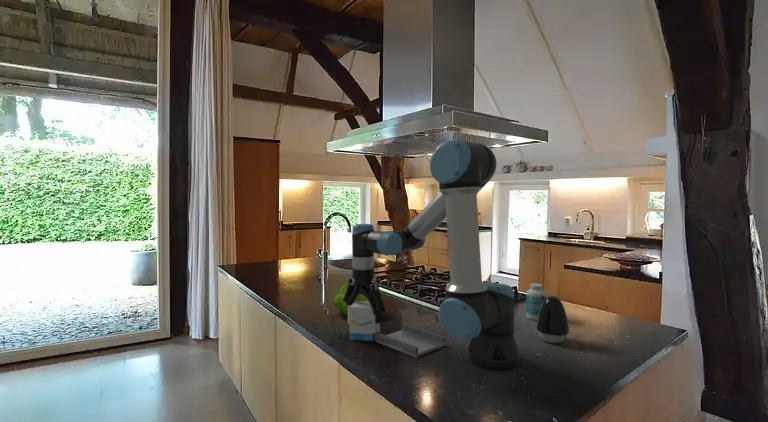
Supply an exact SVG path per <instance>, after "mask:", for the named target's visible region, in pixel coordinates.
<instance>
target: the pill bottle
mask: <svg viewBox="0 0 768 422" xmlns="http://www.w3.org/2000/svg"><path fill="white" fill-rule="evenodd" d="M529 286H530V288H529V289H528V290H526V297H525V298H526V300H525V301H526V305H525V308H526V309H525V311H526V312H525V314H526V317H527V319H530V320H535V321H537V319H538V314H539V311H540V308H541V306H542V303H543V302H544V300H543V299H542V298H541V296H542V295H543V296H544V297H546V298H547V292H546V291H545V290H543V284H541V283H535V282H534V283H530V284H529Z"/></svg>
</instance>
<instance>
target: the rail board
mask: <svg viewBox="0 0 768 422" xmlns="http://www.w3.org/2000/svg"><path fill="white" fill-rule="evenodd" d="M374 342H376V343H377V344H380V345H383V346H385V347H388V348H390V349H393V350H396V351H398V352H401V353H403V354H406V355H407V356H411V357H412V358H413V357H414V358H416V359H417V358H420V357H421V356H425V355H426V354H429V353H431V352H433V351H436V350H439V349H441V348H443V347H446V336H444V335H440V334H437V333H434V332H431V331H428V330H426V329H425V330H424V329H421V328H418V327H415V326H412V325H408V324H406V323H402V324H401V330H398V331H395V332H392V333H389V334H383V333H380V332H377V333H375V339H374Z"/></svg>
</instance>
